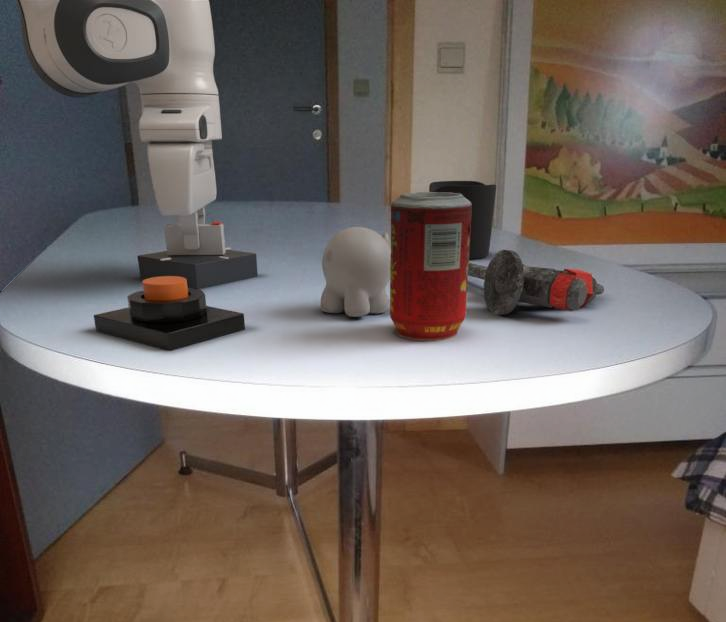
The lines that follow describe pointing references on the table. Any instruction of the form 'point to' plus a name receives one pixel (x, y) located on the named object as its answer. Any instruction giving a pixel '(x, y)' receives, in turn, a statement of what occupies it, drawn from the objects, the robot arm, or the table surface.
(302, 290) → the table surface
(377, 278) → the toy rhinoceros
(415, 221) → the soda can
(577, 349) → the table surface
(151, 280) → the button
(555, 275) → the valve
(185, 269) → the block
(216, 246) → the selector knob
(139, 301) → the control block
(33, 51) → the robot arm
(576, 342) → the table surface
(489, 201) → the pen holder
